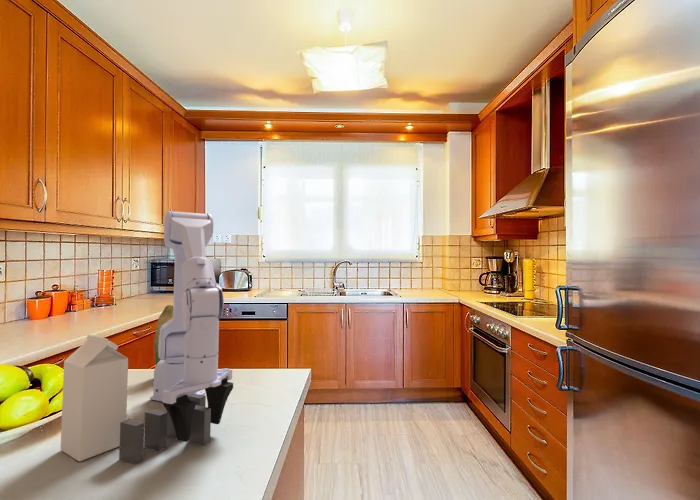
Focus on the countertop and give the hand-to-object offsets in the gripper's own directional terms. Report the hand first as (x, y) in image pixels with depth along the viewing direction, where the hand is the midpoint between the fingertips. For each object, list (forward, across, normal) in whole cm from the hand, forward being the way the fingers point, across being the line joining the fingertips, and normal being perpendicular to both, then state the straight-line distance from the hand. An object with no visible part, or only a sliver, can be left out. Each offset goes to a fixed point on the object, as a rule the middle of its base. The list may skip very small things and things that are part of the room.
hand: (199, 431), depth 67 cm
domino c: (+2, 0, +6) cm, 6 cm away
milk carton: (+2, -9, +15) cm, 18 cm away
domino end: (+2, -9, +6) cm, 11 cm away
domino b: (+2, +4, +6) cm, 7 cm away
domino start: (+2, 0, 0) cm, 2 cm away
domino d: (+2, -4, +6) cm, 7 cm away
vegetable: (+2, +25, +36) cm, 44 cm away
